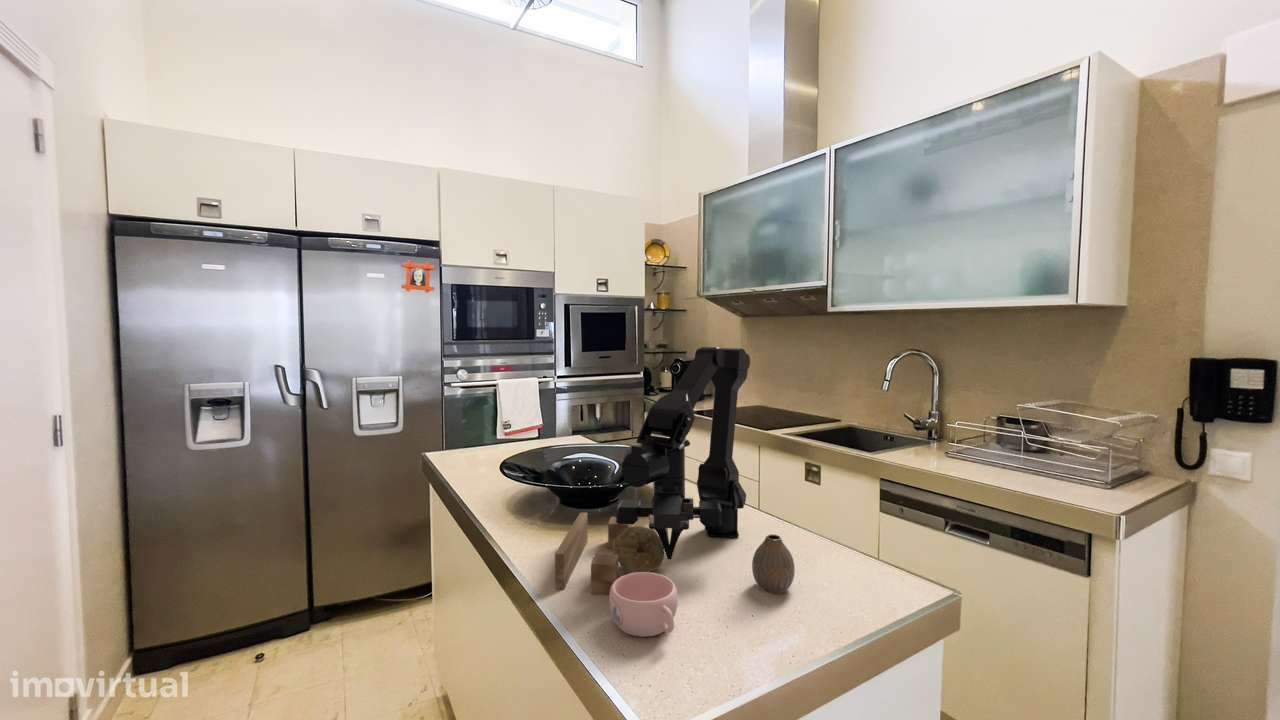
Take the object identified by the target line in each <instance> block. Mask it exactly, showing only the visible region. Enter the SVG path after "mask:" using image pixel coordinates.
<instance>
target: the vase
mask: <svg viewBox="0 0 1280 720" xmlns="http://www.w3.org/2000/svg"><path fill="white" fill-rule="evenodd" d="M795 566H796V565H795V561H794V557H793V555H792V553H791V551H790V550H789V548H787V546H786V545H785V543H784V541H783V538H782V537H781V536H780V535H779V534H767V535H766V536H765V538H764V540H763V542H762V543H760V545H759V546H758V547H757V548H756V550H755V552H754V555H753V557H752V563H751V567H752V568H751V569H752V575H753V579H754V581H755V583H756V584H757V586H758V587H759V588H760V589H761V590H762V591H763V592H765V593H769V594H772V595H775V594H777V595H778V594H783V593H785V592H786V591H787V590H788V589H789V588H790V587H792V586H791V585H792V583H793V581H794V578H795V572H796V570H795V569H796V568H795Z"/></svg>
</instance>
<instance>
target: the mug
mask: <svg viewBox="0 0 1280 720" xmlns="http://www.w3.org/2000/svg"><path fill="white" fill-rule="evenodd" d="M608 596H609V597H608V601H609V603H608V604H609V605H608V606H609V610H610V615H611V616H612V619H613V621H614V623H615V625H616V626H617V627H618V628H619V629H620V630H621V631H622V632H623V633H625V634H627V635H630V636H634V637H641V638H644V637H646V638H647V637H654V636H657V635H660V634H661V633H666V634H670V633H672V632H673V630H674V629H675V620H674V618H675V616H676V614H677V613H676V612H677V608H678V601H679V600H678V591H677V587H676V585H675V583H674V582H673V581H672V580H671V579H670V578H668V577H667V576H665V575H663V574H660V573H656V572H652V571H650V572H636V573H630V574H627V573H626V574H624V575H621V576H620V577H619V578H618V579H617V580H616V581H615V582H614V583H613V584H612V586H611V589H610V594H609V595H608Z"/></svg>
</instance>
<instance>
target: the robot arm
mask: <svg viewBox="0 0 1280 720" xmlns="http://www.w3.org/2000/svg"><path fill="white" fill-rule="evenodd" d="M750 366H751V357H750V354H748V353H746V351H745V349H744V348H738V347H736V348H734V347H733V348H732V347H731V348H729V347H718V346H716V347H715V346H701V347H699V348H697V349H696V351H695V355H694V358H693V359H692V360H691V362H690V364H689V366H688V367H687V368H686V370H685V371H684V373H683V375H682V376H681V377H680V379H679V381H677V383H676V385H675V386H674V388H673V389H672V390H671V391H670V392H669V393H668V394H665V395H663V396H661V397H660V398H658V399H657V400H656V401H655V402H654V404H652V405H651V407H650V408H649V410H648V413H647V415H646V417H645V420H644V422H643V424H642V427H641V428H640V429H641V430H640V432H639V434H638V437H637V438H636V439H637V440H636V443H637V444H634V445H631V447H630V450H631V453H629V454H627V455H626V456H625V457H624V459H623V461H622V464H621V473H622V476H623V478H624V481H625V482H626V483H627V484H628V485H629V486H631V487H633V488H642V487H644V486H647V485H649V484H653V486H652V491H653V493H652V497H651V498H652V499H651V505H641V503H642V502H641V499H621V501H619V502H618V506H617V508H616V512H615V513H616V514H615V517H616V523H618V524H631V525H634V524H635V523H637V521H638V520H639V517H641V518H648V520H649V523H648V528H650V529H654V530H655V531H656V533H657V534H658V536H659V537H660V539H661V542H662V544H663V547H664V554H665V556H666V559H667V560H668V561H669V560H672V558H673V555H674V551H675V549H676V546H677V543H678V541H679V538H680V535H681V534H682V532H683V531H685V530H686V531H687V530H689V529H690V521H693V520H694V519H699V522H700V523H701V524H702V525H703V526H704V531H706V534H707V537H717V538H718V537H719V538H739V536H740V535H739V530H738V526H739V525H738V523H739V522H738V521H739V520H738V519H739V516H738V515H739V511H738V510H740V509H744V508H745V505H746V501H747V493H746V492H745V490H744V488H743V487H742V485H741V483H740V479H739V478H740V476H739V475H740V474H739V473H740V472H739V469H738V467H737V465H736V463H735V461H734V459H733V452H734V440H735V427H736V419H737V417H736V416H737V408H738V407H737V405H738V404H737V403H738V395H739V394H738V392H739V389H741V387H742V385H743V384H744V383H745V381H746V380H747V378H748V372H749V369H750ZM710 381H711V383H712V385H713V387H714V396H713V406H712V407H713V408H712V418H711V427H710V428H711V429H710V430H711V431H710V440H709V441H710V442H709V453H708V457H707V458H706V459H705V460H704V462H703V463H700V464H699V466H698V474H697V481H696V488H697V493H698V498H699V501H698V506H694V498H687V497H686V491H685V490H686V486H685V485H686V473H685V472H686V468H685V467H686V466H685V465H686V463H685V461H686V459H685V458H686V451H685V450H686V448H687V447H689V446H691V442H690V441H689V440H688V439H687V438H686V437H687V436H688V434H689V432H690V431H691V430H692V426H693V423H694V422H695V419H696V415H695V410H694V409H695V406H696V404H697V403H698V401H699V400H700V398H701V396H702V394H703V393H704V392H705V390H706V388H707V386H708V384H709V383H710ZM669 529H671V532H670V537H669Z"/></svg>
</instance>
